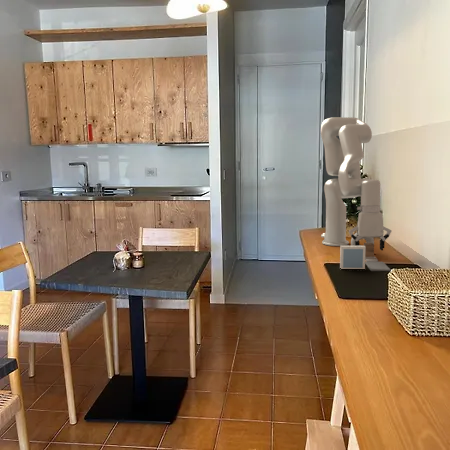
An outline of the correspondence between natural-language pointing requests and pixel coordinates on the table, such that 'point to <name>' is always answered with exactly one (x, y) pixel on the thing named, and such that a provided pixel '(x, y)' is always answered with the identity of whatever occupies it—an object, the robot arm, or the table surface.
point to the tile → (352, 257)
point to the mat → (377, 266)
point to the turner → (370, 253)
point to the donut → (368, 239)
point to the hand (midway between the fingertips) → (369, 250)
